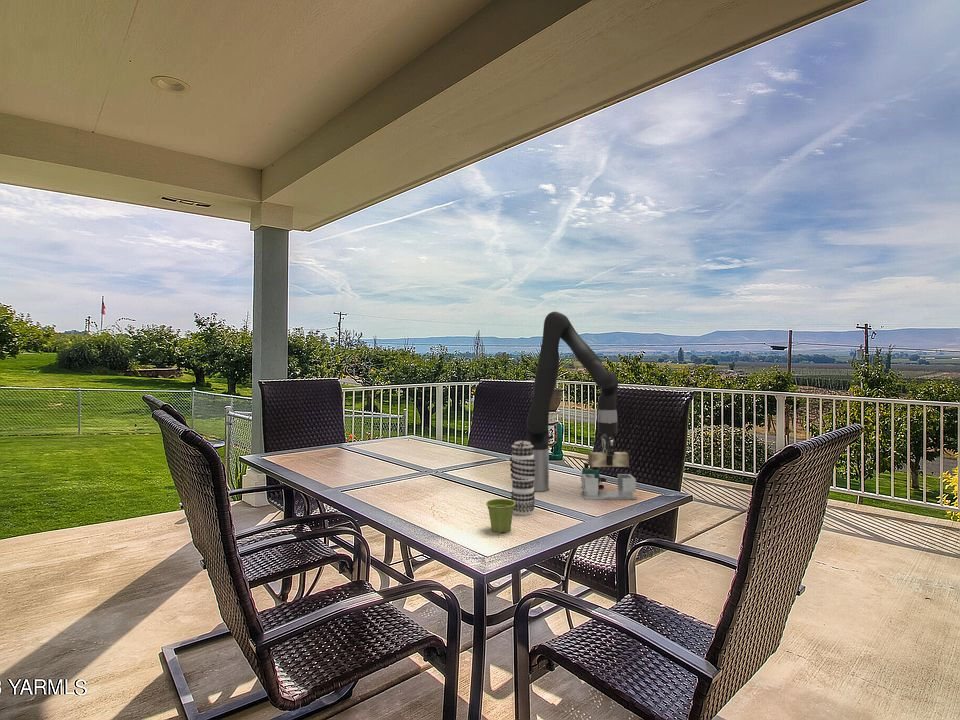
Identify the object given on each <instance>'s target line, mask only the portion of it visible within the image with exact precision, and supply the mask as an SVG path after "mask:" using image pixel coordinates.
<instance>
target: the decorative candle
mask: <svg viewBox="0 0 960 720" xmlns="http://www.w3.org/2000/svg"><path fill="white" fill-rule="evenodd" d="M533 447H534V446H533V445H532V444H531V443H530V442H529V441H527V440H516V441H514V443H513V444H511V457H510V458H509V461H510V462H511V463H510V464H509V466H510V472H511V473H510V479H511V481H512V482H511V483H512V484H511V492H510V493H511V496H510V499H511V500H513V501H515V503H516V504H515V506H514V509H513V514H514V515H520V516H521V515H522V516H527V515H533V514H535V508H536V506H535V504H536V501H535V500H534V499H535V498H536V497H535V492H536V491H534V487H533V480H534V477H533V476H535V474H534V473H533V472H534V471H535V469H533V466H535V464H534V463H533V462H535V459H533V458H534V454H533Z"/></svg>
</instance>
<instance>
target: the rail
mask: <svg viewBox="0 0 960 720" xmlns="http://www.w3.org/2000/svg"><path fill="white" fill-rule="evenodd" d="M629 455H630V453H628V452H627V451H614V455H613V465H607V455H606V452H603V451H595V452H594V451H588V452H587V457H588V461H587V463H588V465H589V466H588V467H589V468H593V467H597V468H605V467H607V468H609V467H610V468H614V467H615V468H620V467H621V468H623V467H624V468H625V467H626V468H627V467H628V468H629V467H630V460H629V459H630V458H629V457H630V456H629Z"/></svg>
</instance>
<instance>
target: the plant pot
mask: <svg viewBox="0 0 960 720" xmlns="http://www.w3.org/2000/svg"><path fill="white" fill-rule="evenodd" d="M485 504H486V506H487V509H488V513H489V520H490V521H489V523H490V529H491V531H492V532H494V533H508V532H510V531H511V529H512V521H513V514H514V513H513V509H514V506H515V504H516V503H515V501H513V499H510V498H509V499H507V498H496V499H494V498H493V499H489V500H488V501H486V502H485Z"/></svg>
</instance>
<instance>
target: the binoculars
mask: <svg viewBox="0 0 960 720" xmlns="http://www.w3.org/2000/svg"><path fill="white" fill-rule="evenodd" d="M582 474H594V475H595V478H598V489H599V488H601V489H603V488H604V486H605V485H604V484H601V483H603V482H604V483H606V482H607V478H605V477H601V476H600V470H599V469H598V467H592V468H590V466H589V465H588V462H583V467H582V470H581V475H582ZM580 482H582V476H580ZM581 488H582V489H583V487H582V486H581Z"/></svg>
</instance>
